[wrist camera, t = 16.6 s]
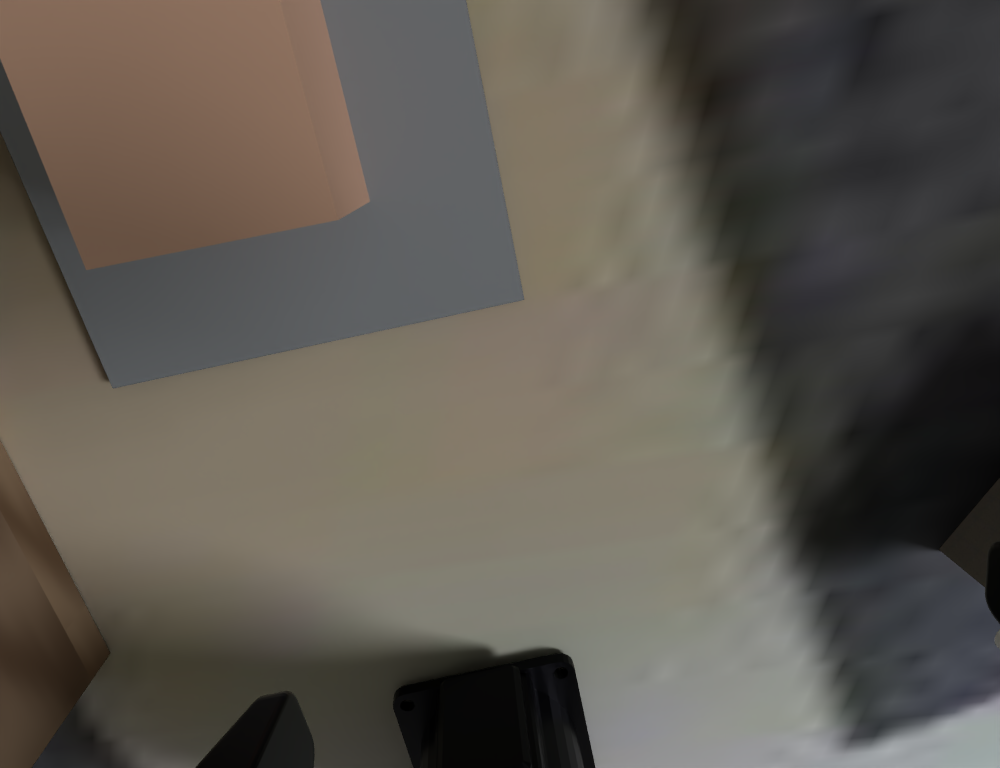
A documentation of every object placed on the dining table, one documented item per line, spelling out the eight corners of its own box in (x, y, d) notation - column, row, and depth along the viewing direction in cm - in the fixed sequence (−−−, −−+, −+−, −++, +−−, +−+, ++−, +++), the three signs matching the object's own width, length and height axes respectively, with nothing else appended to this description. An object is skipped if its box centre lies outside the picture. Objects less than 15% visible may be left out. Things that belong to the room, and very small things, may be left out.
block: (370, 201, 17) (338, 220, 13) (186, 238, 17) (86, 270, 13) (317, -11, 16) (258, -80, 11) (113, 30, 16) (-32, -21, 11)
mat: (522, 296, 19) (524, 299, 19) (119, 384, 19) (112, 388, 19) (423, -213, 15) (422, -222, 14) (-89, -99, 15) (-103, -105, 15)
